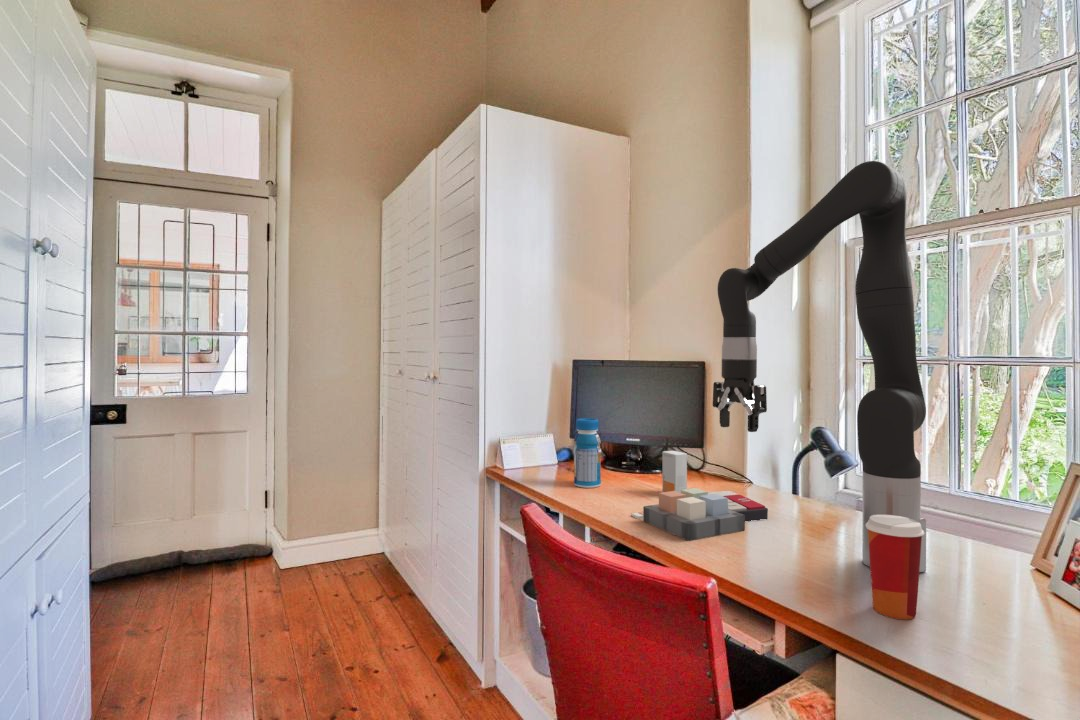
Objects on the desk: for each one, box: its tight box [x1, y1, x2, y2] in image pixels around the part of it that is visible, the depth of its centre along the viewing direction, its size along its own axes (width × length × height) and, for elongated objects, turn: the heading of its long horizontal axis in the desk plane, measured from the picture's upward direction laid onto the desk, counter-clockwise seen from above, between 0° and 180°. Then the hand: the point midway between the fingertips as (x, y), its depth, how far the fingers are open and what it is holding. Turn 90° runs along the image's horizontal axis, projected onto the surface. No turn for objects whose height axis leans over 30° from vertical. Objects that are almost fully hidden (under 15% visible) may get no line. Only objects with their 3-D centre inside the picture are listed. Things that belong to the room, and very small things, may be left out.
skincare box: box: [661, 450, 688, 493], centre depth 161 cm, size 6×4×12 cm
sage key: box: [681, 487, 709, 499], centre depth 136 cm, size 4×4×4 cm
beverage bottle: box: [572, 417, 602, 489], centre depth 173 cm, size 8×8×20 cm
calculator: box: [708, 490, 769, 522], centre depth 142 cm, size 11×4×15 cm
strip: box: [630, 511, 643, 520], centre depth 142 cm, size 3×16×1 cm, turn 116°
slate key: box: [699, 494, 728, 516], centre depth 130 cm, size 4×4×4 cm
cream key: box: [677, 497, 706, 520], centre depth 127 cm, size 4×4×4 cm
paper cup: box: [865, 515, 924, 621], centre depth 88 cm, size 8×8×14 cm
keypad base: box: [642, 503, 746, 542], centre depth 132 cm, size 16×16×4 cm
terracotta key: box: [658, 491, 686, 513], centre depth 133 cm, size 4×4×4 cm
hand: (738, 429), depth 130 cm, fingers open, 8 cm apart
